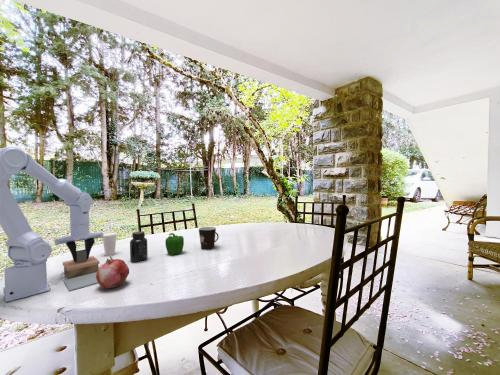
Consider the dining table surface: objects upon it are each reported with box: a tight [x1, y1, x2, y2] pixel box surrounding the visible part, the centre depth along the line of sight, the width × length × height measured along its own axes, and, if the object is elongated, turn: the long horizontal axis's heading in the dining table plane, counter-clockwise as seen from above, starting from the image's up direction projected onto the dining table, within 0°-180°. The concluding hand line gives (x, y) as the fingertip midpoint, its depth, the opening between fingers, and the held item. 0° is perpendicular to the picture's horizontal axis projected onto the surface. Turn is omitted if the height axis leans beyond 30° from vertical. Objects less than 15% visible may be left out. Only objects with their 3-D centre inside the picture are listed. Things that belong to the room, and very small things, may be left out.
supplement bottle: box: [129, 231, 149, 264], centre depth 99 cm, size 7×7×12 cm
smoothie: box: [102, 224, 118, 257], centre depth 108 cm, size 6×6×14 cm
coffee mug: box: [198, 226, 220, 251], centre depth 114 cm, size 12×9×10 cm
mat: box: [63, 272, 99, 292], centre depth 79 cm, size 12×11×1 cm
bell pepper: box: [164, 232, 185, 256], centre depth 108 cm, size 8×8×10 cm
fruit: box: [96, 255, 130, 289], centre depth 74 cm, size 9×10×10 cm
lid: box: [62, 248, 100, 271], centre depth 86 cm, size 10×10×5 cm
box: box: [63, 264, 100, 279], centre depth 86 cm, size 9×9×3 cm
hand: (81, 260), depth 86 cm, fingers closed on lid, 3 cm apart
